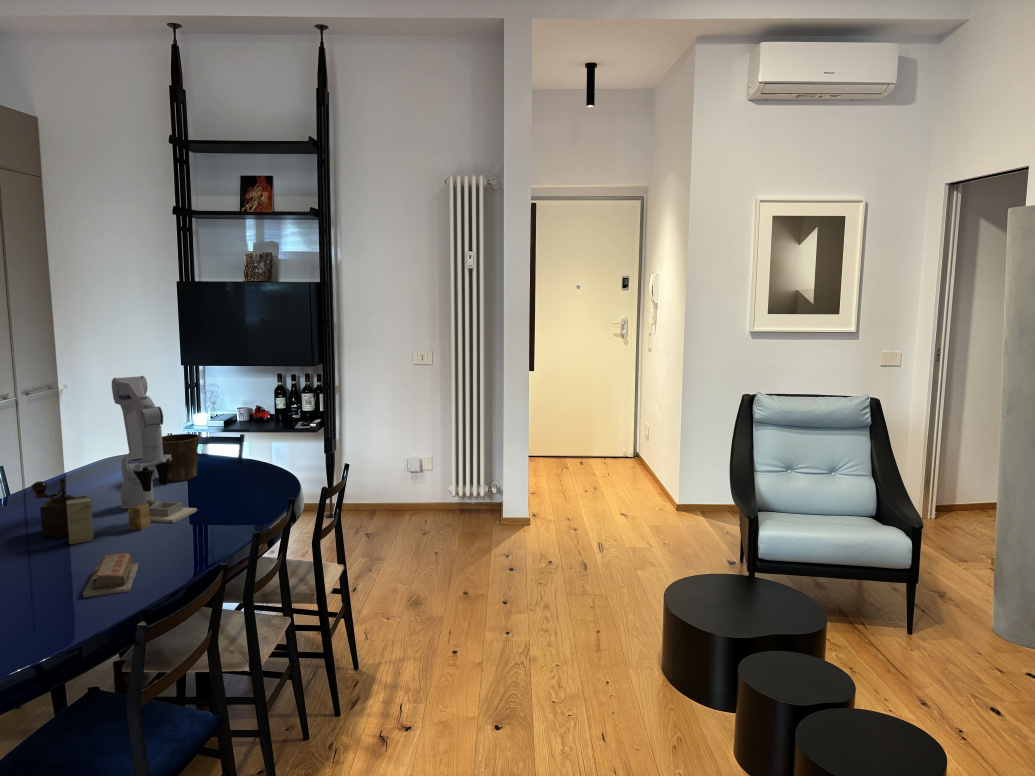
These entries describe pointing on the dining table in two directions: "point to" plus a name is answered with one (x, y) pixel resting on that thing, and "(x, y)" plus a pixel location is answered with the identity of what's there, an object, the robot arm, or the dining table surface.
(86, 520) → the skincare box
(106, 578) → the packaged product
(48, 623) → the dining table surface
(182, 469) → the plant pot
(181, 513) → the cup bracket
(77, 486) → the dining table surface
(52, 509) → the manual coffee grinder
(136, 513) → the wooden block
